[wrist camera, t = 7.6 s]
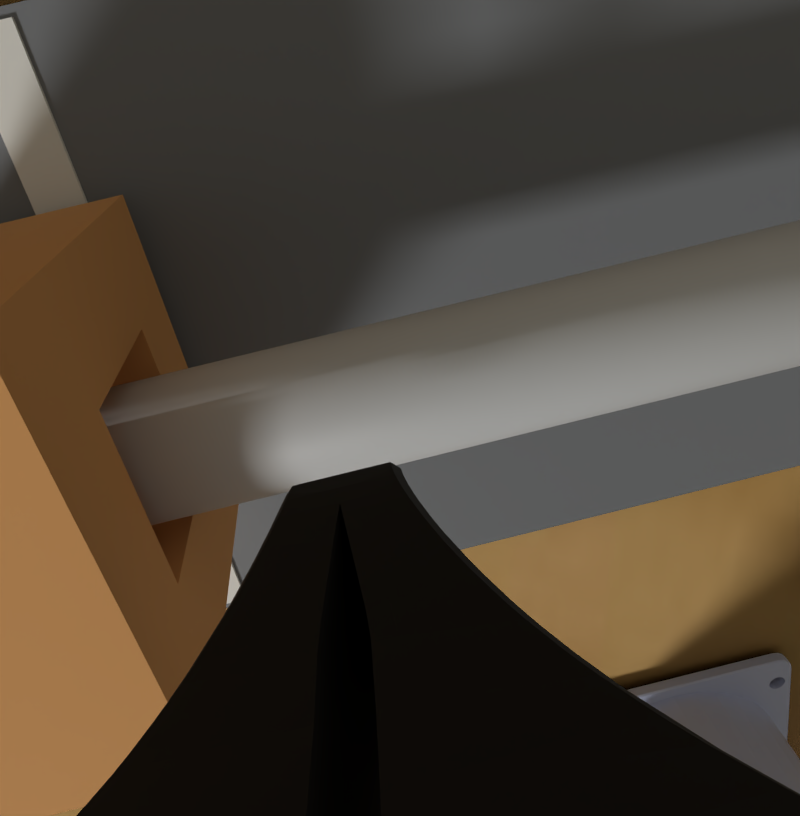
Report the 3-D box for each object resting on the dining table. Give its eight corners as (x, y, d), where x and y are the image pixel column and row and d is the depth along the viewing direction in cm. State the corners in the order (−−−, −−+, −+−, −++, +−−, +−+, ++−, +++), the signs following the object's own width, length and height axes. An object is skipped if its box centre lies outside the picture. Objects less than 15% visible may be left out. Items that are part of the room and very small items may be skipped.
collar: (238, 502, 17) (205, 776, 11) (113, 533, 17) (4, 826, 11) (122, 194, 14) (-23, 328, 8) (-34, 231, 14) (-314, 398, 8)
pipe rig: (1032, 379, 21) (1345, 525, 15) (-89, 656, 20) (-259, 930, 14) (1170, -259, 14) (1836, -484, 8) (-471, 123, 14) (-1095, 196, 8)
